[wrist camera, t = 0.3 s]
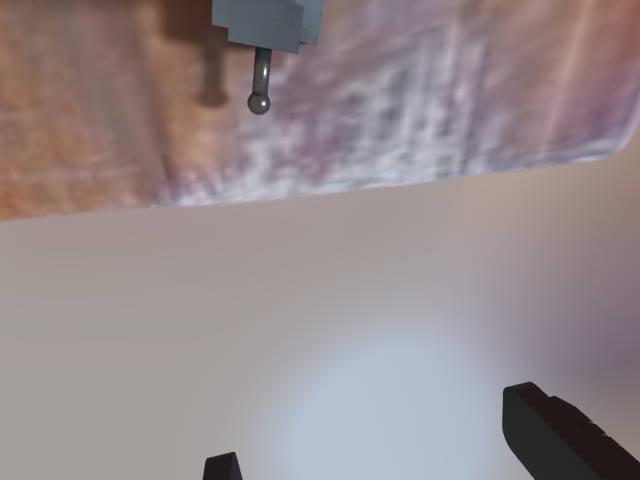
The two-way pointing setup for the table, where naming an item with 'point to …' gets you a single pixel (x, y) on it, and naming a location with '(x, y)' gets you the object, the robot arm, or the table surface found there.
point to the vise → (268, 33)
